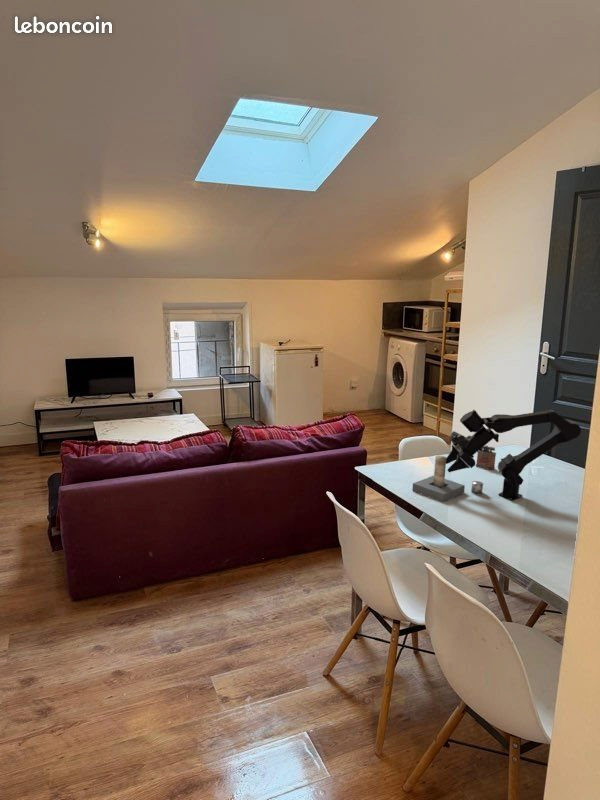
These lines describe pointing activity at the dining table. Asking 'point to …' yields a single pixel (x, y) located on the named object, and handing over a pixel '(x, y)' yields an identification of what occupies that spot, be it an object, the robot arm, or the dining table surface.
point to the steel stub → (477, 487)
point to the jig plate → (438, 489)
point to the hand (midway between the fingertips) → (446, 467)
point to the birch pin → (439, 471)
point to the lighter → (486, 458)
